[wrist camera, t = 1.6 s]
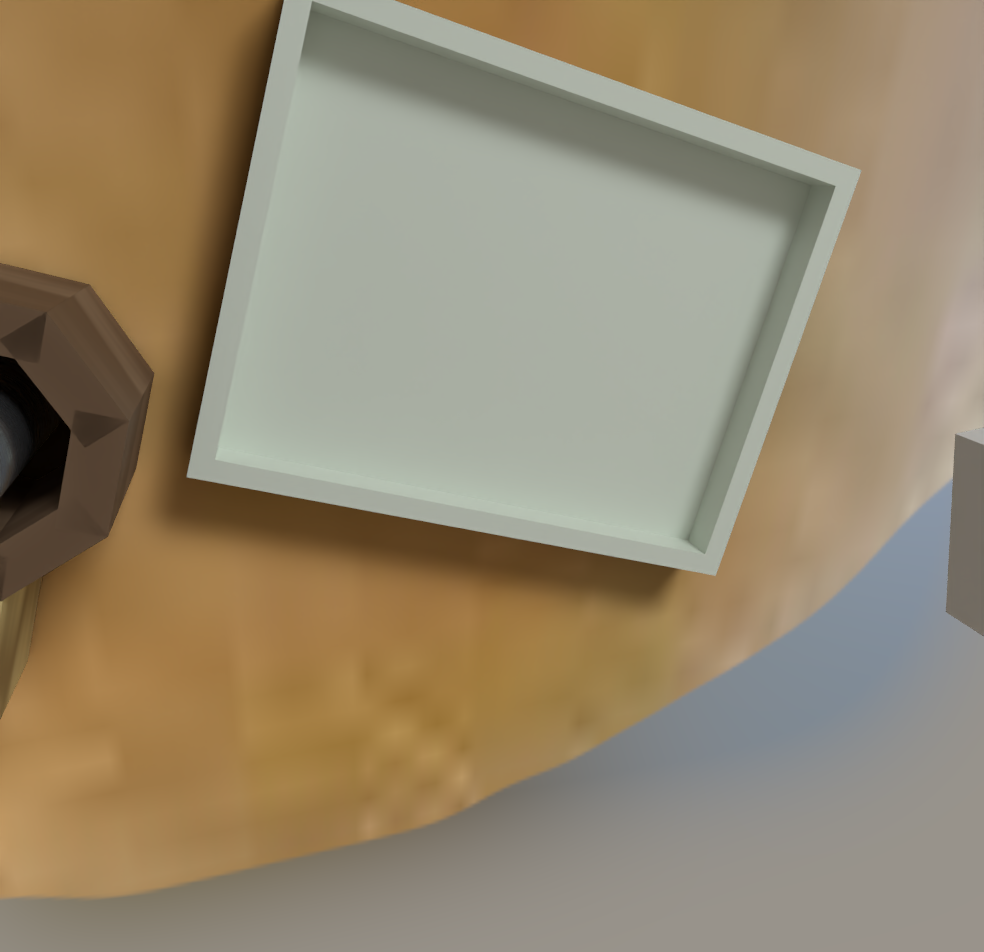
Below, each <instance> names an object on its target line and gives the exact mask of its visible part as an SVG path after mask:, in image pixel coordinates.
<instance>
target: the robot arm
mask: <svg viewBox="0 0 984 952" xmlns="http://www.w3.org/2000/svg"><path fill="white" fill-rule="evenodd" d="M946 612H947V613H948V614H950V615H951V616H953V617H954V618H956V619H958V620H959V621H961V622H962V623H964V624H966V625H967V626H969V627H970V628H972V629H973V630H975V631H976V632H978V633H979V634H981V635H982V636H984V427H983V428H979V429H975V430H970V431H966V432H961V433H957V434H955V450H954V469H953V489H952V509H951V527H950V545H949V565H948V585H947V603H946Z"/></svg>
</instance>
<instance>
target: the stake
mask: <svg viewBox="0 0 984 952" xmlns="http://www.w3.org/2000/svg"><path fill="white" fill-rule="evenodd" d="M61 421H62V418H61V417H60V415H59V414H58V413H57V412H56V410H55V409H54V408H53V407H52V405H51V404H50V403H49V402H48V400H47V399H46V398H45V396H44V395H43V394H42V393H41V391H40V390H39V389H38V388H37V386H36V385H35V384H34V383H33V381H32V380H31V379H30V377H29V376H28V375H27V374H26V372H25V371H24V370H23V369H22V367H21V366H20V365H19V364H18V362H17V361H16V360H15V359H14V358H9V357H5V356H0V497H1V496H2V495H3V494H4V492H5V491H6V490H7V489H8V487H9V486H10V485H11V484H12V482H13V481H14V480H15V479H16V477H17V476H18V475H19V474H20V472H21V471H22V470H23V469H24V467H25V466H26V465H27V464H28V462H29V461H30V460H31V459H32V457H33V456H34V455H35V454H36V452H37V451H38V450H39V449H40V447H41V446H42V445H43V444H44V442H45V441H46V440H47V439H48V437H49V436H50V435H51V434H52V432H53V431H54V430H55V429H56V427H57V426H58V425H59V424H60V422H61Z"/></svg>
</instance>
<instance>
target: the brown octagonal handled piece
mask: <svg viewBox="0 0 984 952" xmlns="http://www.w3.org/2000/svg"><path fill="white" fill-rule="evenodd" d="M0 356H5V357H9V358H14V359H15V360H16V361H17V362H18V364H19V365H20V366H21V367H22V369H23V370H24V371H25V372H26V374H27V375H28V376H29V377H30V379H31V380H32V381H33V383H34V384H35V385H36V386H37V388H38V389H39V390H40V391H41V393H42V394H43V395H44V396H45V398H46V399H47V400H48V402H49V403H50V404H51V405H52V407H53V408H54V409H55V410H56V412H57V413H58V414H59V415H60V417H61V418H62V419H63V421H64V422H65V423H66V424H67V426H68V427H69V428H70V429H71V435H70V441H69V447H68V453H67V459H66V463H65V464H63V465H61V466H60V467H58V468H56V469H55V470H53V471H51V472H50V473H48V474H46V475H45V476H43V477H41V478H40V479H33V478H28V477H22V476H17V477H16V479H15V480H14V481H13V482H12V484H11V485H10V486H9V487H8V489H7V490H6V491H5V492H4V494H3V495H2V496H1V497H0V719H1V717H2V714H3V712H4V710H5V708H6V706H7V704H8V702H9V700H10V698H11V695H12V693H13V691H14V689H15V687H16V685H17V683H18V681H19V679H20V676H21V674H22V672H23V670H24V668H25V666H26V664H27V662H28V656H29V651H30V645H31V639H32V633H33V627H34V621H35V615H36V609H37V603H38V597H39V592H40V586H41V580H42V576H44V575H45V574H47V573H49V572H50V571H52V570H54V569H55V568H57V567H59V566H60V565H62V564H63V563H65V562H67V561H68V560H70V559H72V558H73V557H75V556H77V555H78V554H80V553H82V552H83V551H85V550H87V549H88V548H90V547H92V546H93V545H95V544H97V543H98V542H100V541H101V540H103V539H105V538H106V537H108V535H109V533H110V530H111V528H112V525H113V523H114V520H115V518H116V516H117V513H118V511H119V508H120V506H121V504H122V501H123V499H124V496H125V494H126V491H127V489H128V487H129V484H130V482H131V479H132V477H133V475H134V472H135V470H136V466H137V461H138V455H139V450H140V445H141V440H142V434H143V429H144V424H145V419H146V413H147V408H148V403H149V398H150V392H151V387H152V382H153V377H154V372H153V371H152V370H151V368H150V367H149V365H148V364H147V363H146V361H145V360H144V359H143V357H142V356H141V354H140V353H139V352H138V350H137V349H136V348H135V346H134V345H133V343H132V342H131V341H130V339H129V338H128V337H127V335H126V334H125V332H124V331H123V330H122V328H121V327H120V326H119V324H118V323H117V321H116V320H115V319H114V317H113V316H112V315H111V313H110V312H109V310H108V309H107V308H106V306H105V305H104V304H103V302H102V301H101V299H100V298H99V297H98V295H97V294H96V293H95V291H94V290H93V288H92V287H91V286H90V284H85V283H81V282H77V281H73V280H68V279H64V278H60V277H56V276H52V275H48V274H43V273H39V272H35V271H31V270H27V269H23V268H19V267H14V266H10V265H6V264H2V263H0Z"/></svg>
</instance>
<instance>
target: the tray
mask: <svg viewBox="0 0 984 952" xmlns="http://www.w3.org/2000/svg"><path fill="white" fill-rule="evenodd" d="M860 173H861V170H859V169H856V168H854V167H851V166H848V165H845V164H843V163H840V162H837V161H834V160H832V159H829V158H826V157H823V156H821V155H818V154H815V153H812V152H810V151H807V150H804V149H801V148H799V147H796V146H793V145H790V144H788V143H785V142H782V141H779V140H777V139H774V138H771V137H768V136H766V135H763V134H760V133H757V132H755V131H752V130H749V129H746V128H744V127H741V126H738V125H735V124H733V123H730V122H727V121H724V120H722V119H719V118H716V117H713V116H711V115H708V114H705V113H702V112H700V111H697V110H694V109H691V108H689V107H686V106H683V105H680V104H678V103H675V102H672V101H669V100H667V99H664V98H661V97H658V96H656V95H653V94H650V93H647V92H645V91H642V90H639V89H636V88H634V87H631V86H628V85H625V84H623V83H620V82H617V81H614V80H612V79H609V78H606V77H603V76H601V75H598V74H595V73H592V72H590V71H587V70H584V69H581V68H579V67H576V66H573V65H570V64H568V63H565V62H562V61H559V60H557V59H554V58H551V57H548V56H546V55H543V54H540V53H537V52H535V51H532V50H529V49H526V48H524V47H521V46H518V45H515V44H513V43H510V42H507V41H504V40H502V39H499V38H496V37H493V36H491V35H488V34H485V33H482V32H480V31H477V30H474V29H471V28H469V27H466V26H463V25H460V24H458V23H455V22H452V21H449V20H447V19H444V18H441V17H438V16H436V15H433V14H430V13H427V12H425V11H422V10H419V9H416V8H414V7H411V6H408V5H405V4H403V3H400V2H397V1H394V0H284V3H283V8H282V13H281V18H280V22H279V27H278V32H277V37H276V42H275V47H274V52H273V57H272V62H271V66H270V71H269V76H268V81H267V86H266V91H265V96H264V101H263V106H262V110H261V115H260V120H259V125H258V130H257V135H256V140H255V145H254V150H253V154H252V159H251V164H250V169H249V174H248V179H247V184H246V189H245V194H244V198H243V203H242V208H241V213H240V218H239V223H238V228H237V233H236V238H235V242H234V247H233V252H232V257H231V262H230V267H229V272H228V277H227V282H226V286H225V291H224V296H223V301H222V306H221V311H220V316H219V321H218V326H217V330H216V335H215V340H214V345H213V350H212V355H211V360H210V365H209V369H208V374H207V379H206V384H205V389H204V394H203V399H202V404H201V409H200V413H199V418H198V423H197V428H196V433H195V438H194V443H193V448H192V453H191V457H190V462H189V467H188V472H187V477H188V478H194V479H199V480H205V481H210V482H215V483H221V484H226V485H231V486H237V487H242V488H248V489H253V490H258V491H264V492H269V493H274V494H280V495H285V496H291V497H296V498H301V499H307V500H312V501H317V502H323V503H328V504H334V505H339V506H344V507H350V508H355V509H360V510H366V511H371V512H377V513H382V514H387V515H393V516H398V517H403V518H409V519H414V520H420V521H425V522H430V523H436V524H441V525H446V526H452V527H457V528H463V529H468V530H473V531H479V532H484V533H489V534H495V535H500V536H506V537H511V538H516V539H522V540H527V541H532V542H538V543H543V544H549V545H554V546H559V547H565V548H570V549H575V550H581V551H586V552H592V553H597V554H602V555H608V556H613V557H618V558H624V559H629V560H635V561H640V562H645V563H651V564H656V565H661V566H667V567H672V568H678V569H683V570H688V571H694V572H699V573H704V574H710V575H715V576H716V573H717V570H718V567H719V565H720V562H721V559H722V556H723V554H724V551H725V548H726V545H727V542H728V540H729V537H730V534H731V531H732V529H733V526H734V523H735V520H736V517H737V515H738V512H739V509H740V506H741V504H742V501H743V498H744V495H745V492H746V490H747V487H748V484H749V481H750V479H751V476H752V473H753V470H754V467H755V465H756V462H757V459H758V456H759V454H760V451H761V448H762V445H763V442H764V440H765V437H766V434H767V431H768V429H769V426H770V423H771V420H772V417H773V415H774V412H775V409H776V406H777V404H778V401H779V398H780V395H781V392H782V390H783V387H784V384H785V381H786V379H787V376H788V373H789V370H790V367H791V365H792V362H793V359H794V356H795V354H796V351H797V348H798V345H799V342H800V340H801V337H802V334H803V331H804V329H805V326H806V323H807V320H808V317H809V315H810V312H811V309H812V306H813V304H814V301H815V298H816V295H817V292H818V290H819V287H820V284H821V281H822V279H823V276H824V273H825V270H826V267H827V265H828V262H829V259H830V256H831V254H832V251H833V248H834V245H835V242H836V240H837V237H838V234H839V231H840V228H841V226H842V223H843V220H844V217H845V215H846V212H847V209H848V206H849V203H850V201H851V198H852V195H853V192H854V190H855V187H856V184H857V181H858V178H859V176H860Z"/></svg>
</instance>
